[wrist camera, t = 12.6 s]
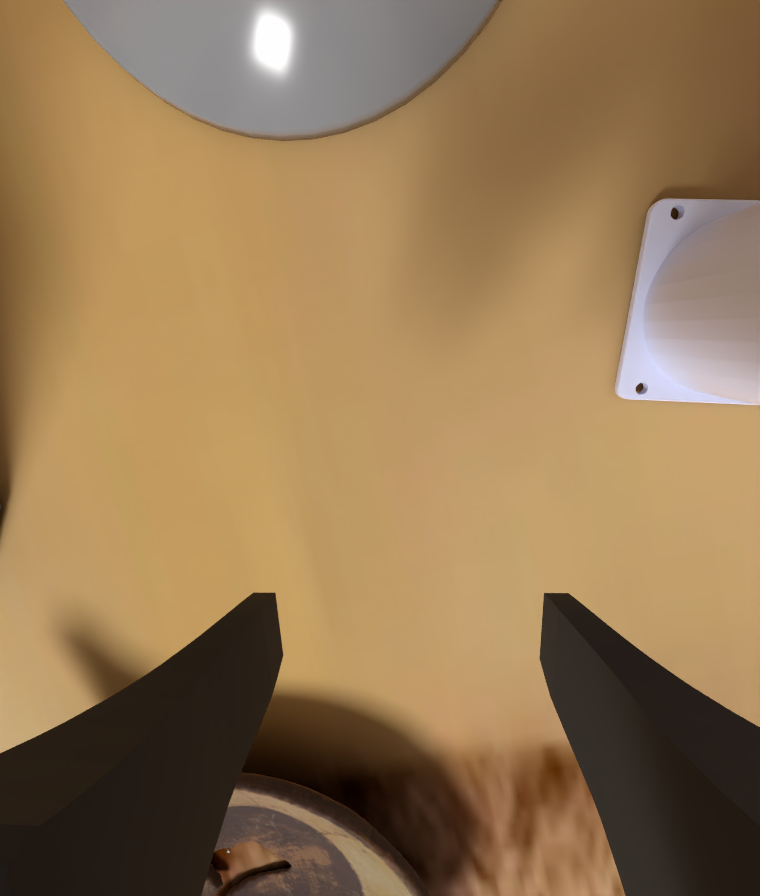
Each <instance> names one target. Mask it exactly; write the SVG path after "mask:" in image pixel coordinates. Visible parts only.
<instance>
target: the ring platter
mask: <svg viewBox="0 0 760 896" xmlns="http://www.w3.org/2000/svg"><path fill="white" fill-rule="evenodd" d="M501 1H502V0H64V2H65V3H66V5H67V6H68V8H69V9H70V10H71V11H72V13H73V14H74V15H75V16H76V18H77V19H78V20H79V21H80V23H81V24H82V25H83V26H84V28H85V29H86V30H87V31H88V33H89V34H90V35H91V36H92V37H93V39H94V40H95V41H96V42H97V43H98V44H99V45H100V46H101V47H102V48H103V49H104V50H105V51H106V52H107V53H108V54H109V55H110V56H111V57H112V58H113V59H114V60H115V61H117V62H118V63H119V64H120V65H121V66H122V67H123V68H124V69H125V70H126V71H127V72H128V73H129V74H130V75H131V76H133V77H134V78H135V79H136V80H137V81H138V82H139V83H141V84H142V85H143V86H145V87H146V88H147V89H148V90H150V91H151V92H152V93H154V94H155V95H156V96H158V97H159V98H160V99H161V100H163V101H164V102H166V103H167V104H169V105H171V106H172V107H174V108H176V109H178V110H179V111H181V112H183V113H185V114H186V115H188V116H190V117H191V118H193V119H195V120H198V121H200V122H203V123H205V124H208V125H210V126H213V127H215V128H218V129H220V130H222V131H226V132H230V133H234V134H238V135H242V136H246V137H251V138H257V139H268V140H279V141H292V140H307V139H317V138H322V137H326V136H331V135H336V134H340V133H345V132H348V131H350V130H353V129H356V128H358V127H361V126H363V125H366V124H369V123H371V122H374V121H376V120H378V119H380V118H382V117H384V116H385V115H387V114H389V113H391V112H392V111H394V110H396V109H398V108H400V107H401V106H403V105H405V104H407V103H408V102H409V101H411V100H412V99H413V98H415V97H416V96H417V95H418V94H420V93H421V92H422V91H424V90H425V89H426V88H428V87H429V86H430V85H432V84H433V83H434V82H435V81H436V80H438V79H439V78H440V77H441V76H442V75H443V74H444V73H445V72H446V71H447V70H448V69H449V68H450V67H451V66H452V65H453V64H454V63H455V62H456V61H457V60H458V59H459V58H460V57H461V56H462V55H463V54H464V52H465V51H466V50H467V49H468V47H469V46H470V45H471V44H472V42H473V41H474V40H475V39H476V37H477V36H478V35H479V34H480V32H481V31H482V30H483V29H484V27H485V26H486V25H487V23H488V22H489V20H490V19H491V17H492V15H493V14H494V12H495V11H496V9H497V8H498V6H499V4H500V3H501Z"/></svg>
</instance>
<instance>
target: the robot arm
mask: <svg viewBox="0 0 760 896" xmlns="http://www.w3.org/2000/svg"><path fill="white" fill-rule="evenodd" d="M672 208H676V209H677V210H678V213H679V215H678V218H677V219H676V220H675V219H673V218H672V217H671V210H672ZM639 383H642V384H643V389H642V391H641V392H639V393H637V392H636V386H637V385H638V384H639ZM615 392H616V394H617V395H618V396H619V397H621V398H625V399H636V400H658V401H680V402H702V403H724V404H746V405H760V200H722V199H671V198H666V199H661V200H659V201H657V202H656V203H654V204H653V205H652V206H651V207H650V208H649V210H648V213H647V217H646V222H645V227H644V233H643V238H642V244H641V249H640V254H639V260H638V265H637V270H636V276H635V281H634V287H633V292H632V297H631V303H630V308H629V313H628V319H627V324H626V329H625V335H624V340H623V346H622V351H621V356H620V362H619V367H618V372H617V378H616V383H615ZM282 658H283V650H282V642H281V634H280V626H279V619H278V611H277V603H276V595H275V593H253V594H251V595H250V596H249V597H247V598H246V599H245V600H244V601H242V602H241V603H240V604H239V605H237V606H236V607H235V608H234V609H232V610H231V611H230V612H229V613H228V614H226V615H225V616H224V617H223V618H221V619H220V620H219V621H218V622H216V623H215V624H214V625H213V626H211V627H210V628H209V629H208V630H206V631H205V632H204V633H203V634H202V635H200V636H199V637H198V638H196V639H195V640H194V641H192V642H191V643H190V644H188V645H187V646H186V647H184V648H183V649H182V650H180V651H179V652H178V653H176V654H175V655H174V656H172V657H171V658H169V659H168V660H167V661H165V662H164V663H163V664H161V665H160V666H158V667H157V668H155V669H154V670H153V671H151V672H150V673H148V674H147V675H145V676H144V677H142V678H141V679H139V680H137V681H136V682H134V683H133V684H131V685H129V686H128V687H126V688H125V689H123V690H121V691H120V692H118V693H116V694H115V695H113V696H111V697H110V698H108V699H106V700H104V701H103V702H101V703H99V704H97V705H95V706H94V707H92V708H90V709H88V710H86V711H85V712H83V713H81V714H79V715H77V716H75V717H74V718H72V719H70V720H68V721H66V722H65V723H63V724H61V725H59V726H57V727H55V728H53V729H51V730H49V731H47V732H45V733H43V734H41V735H39V736H37V737H35V738H32V739H30V740H28V741H26V742H24V743H22V744H20V745H17V746H15V747H13V748H11V749H9V750H7V751H4V752H2V753H0V896H201V895H202V891H203V888H204V884H205V881H206V878H207V874H208V871H209V867H210V864H211V860H212V857H213V854H214V850H215V847H216V844H217V841H218V837H219V834H220V831H221V828H222V825H223V821H224V818H225V815H226V812H227V808H228V805H229V802H230V800H231V797H232V794H233V791H234V789H235V786H236V783H237V781H238V778H239V776H240V773H241V771H242V768H243V766H244V763H245V761H246V759H247V756H248V754H249V751H250V749H251V746H252V744H253V741H254V739H255V736H256V734H257V732H258V729H259V727H260V724H261V722H262V719H263V717H264V714H265V712H266V709H267V707H268V704H269V702H270V699H271V696H272V694H273V691H274V687H275V684H276V680H277V677H278V673H279V669H280V665H281V661H282ZM540 661H541V665H542V668H543V672H544V676H545V679H546V683H547V686H548V689H549V693H550V696H551V699H552V701H553V704H554V706H555V709H556V711H557V714H558V716H559V719H560V721H561V723H562V726H563V728H564V731H565V733H566V735H567V738H568V740H569V742H570V745H571V747H572V749H573V752H574V754H575V757H576V759H577V761H578V764H579V766H580V768H581V771H582V773H583V776H584V778H585V780H586V783H587V785H588V787H589V790H590V792H591V794H592V797H593V800H594V802H595V805H596V808H597V810H598V813H599V815H600V818H601V821H602V824H603V827H604V830H605V833H606V836H607V839H608V842H609V845H610V848H611V851H612V854H613V857H614V860H615V864H616V867H617V870H618V873H619V876H620V879H621V882H622V885H623V889H624V892H625V895H626V896H760V727H758V726H756V725H755V724H753V723H751V722H749V721H747V720H746V719H744V718H742V717H741V716H739V715H737V714H735V713H734V712H732V711H730V710H728V709H727V708H725V707H724V706H722V705H720V704H719V703H717V702H716V701H714V700H712V699H711V698H709V697H708V696H706V695H704V694H703V693H701V692H699V691H698V690H696V689H695V688H693V687H692V686H690V685H689V684H687V683H686V682H684V681H683V680H681V679H680V678H678V677H677V676H675V675H674V674H672V673H671V672H670V671H668V670H667V669H665V668H664V667H662V666H661V665H660V664H658V663H657V662H655V661H654V660H653V659H651V658H650V657H648V656H647V655H646V654H644V653H643V652H642V651H640V650H639V649H638V648H636V647H635V646H634V645H632V644H631V643H630V642H629V641H627V640H626V639H625V638H623V637H622V636H621V635H620V634H618V633H617V632H616V631H615V630H613V629H612V628H611V627H610V626H608V625H607V624H606V623H605V622H603V621H602V620H601V619H600V618H598V617H597V616H596V615H595V614H594V613H592V612H591V611H590V610H589V609H587V608H586V607H585V606H584V605H583V604H581V603H580V602H579V601H578V600H576V599H575V598H574V597H572V596H571V595H570V594H568V593H544V602H543V617H542V633H541V648H540Z"/></svg>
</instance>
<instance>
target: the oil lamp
mask: <svg viewBox="0 0 760 896" xmlns="http://www.w3.org/2000/svg"><path fill="white" fill-rule="evenodd" d="M249 841H253V842H257V843H259V844H261V845H264V846H265V848H266V849H269V850H271V851H272V852H273V853H274V854H276V855H277V856H278V857H279V858H282V859H285V860H286V861H287V862H288V863H289V864H291V867H289V868H282V869H277V870H275V871H269V870H268V871H267V872H262V873H258V874H256V875H254V876H249V877H248V878H246V879H243V880H242V881H241V883H240V884H238V885H234V886H233V887H232V888H231V889H230V890H229V891H228V893H227V895H226V896H429V894H428V892H427V890H426V888H425V886H424V885H423V883H422V881H421V880H420V878H419V876H418V875H417V873H416V872H415V870H414V869H413V868H412V866H411V865H410V864H409V863H408V862H407V861H406V860H405V859H404V858H403V856H402V855H401V854H400V853H399V852H398V851H397V850H396V849H395V848H394V847H393V846H392V845H391V844H390V843H389V842H388V841H387V840H386V839H385V838H384V837H383V836H382V835H381V834H379V833H378V831H377V830H376V829H374V828H373V827H372V826H371V825H370V824H369V823H368V822H367V821H366V820H365V819H363V818H362V817H360V816H359V815H358V814H357V813H356V812H354V811H353V810H351V809H350V808H348V807H346V806H344V805H343V804H340V803H339V802H336V801H334V800H333V799H331V798H329V797H327V796H325V795H323V794H321V793H319V792H317V791H314V790H312V789H310V788H308V787H305V786H302V785H299V784H296V783H293V782H289V781H286V780H282V779H279V778H273V777H269V776H265V775H258V774H252V773H240V776H239V778H238V781H237V783H236V786H235V789H234V791H233V794H232V797H231V800H230V802H229V805H228V808H227V812H226V815H225V818H224V821H223V825H222V828H221V831H220V834H219V837H218V841H217V844H216V847H215V850H214V852H216V851H217V850H219V849H224V848H229V847H234V846H235V845H237V844H240V843H244V842H249ZM227 853H230V851H229V850H228V851H227ZM222 885H223V882H222V880H221V875H220V874H219V873H218V872H217V871H216V870H215V869H214V867H213V864H210V867H209V871H208V874H207V878H206V881H205V884H204V888H203V891H202V895H201V896H211V895H214V894H215V892H216V891H217V890H218V889H219V888H220V887H221V886H222Z"/></svg>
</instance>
